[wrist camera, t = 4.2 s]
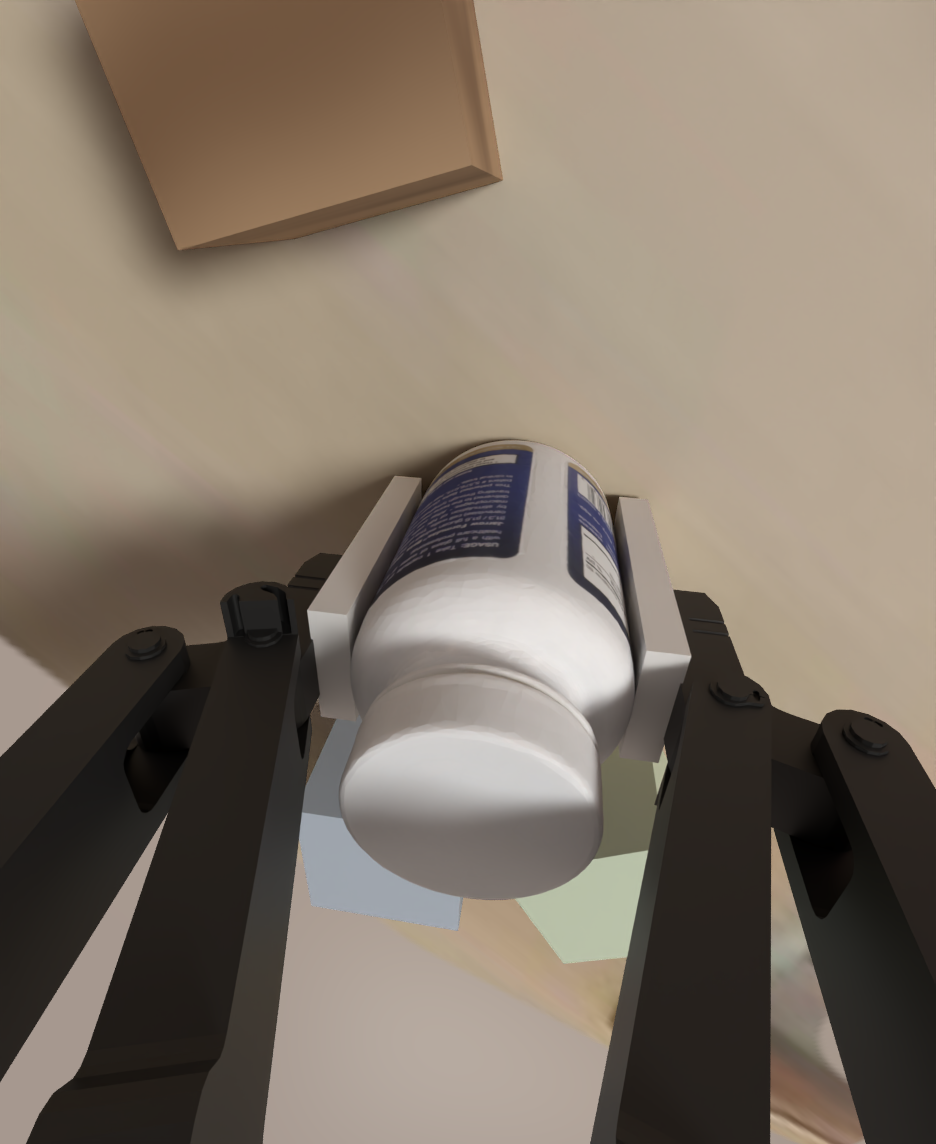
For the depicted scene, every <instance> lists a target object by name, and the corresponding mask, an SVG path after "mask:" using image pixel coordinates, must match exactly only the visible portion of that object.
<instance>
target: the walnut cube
mask: <svg viewBox="0 0 936 1144" xmlns="http://www.w3.org/2000/svg"><path fill="white" fill-rule="evenodd" d="M75 2H76V4H77V7H78V9H79V12H80V14H81V17H82V19H83V21H84V24H85V26H86V29H87V31H88V33H89V36H90V38H91V41H92V43H93V46H94V48H95V50H96V53H97V55H98V58H99V60H100V63H101V65H102V67H103V70H104V72H105V75H106V77H107V80H108V82H109V84H110V87H111V89H112V92H113V94H114V97H115V99H116V101H117V104H118V106H119V109H120V111H121V114H122V116H123V118H124V121H125V123H126V126H127V128H128V131H129V133H130V135H131V138H132V140H133V143H134V145H135V148H136V150H137V152H138V155H139V157H140V160H141V162H142V165H143V167H144V169H145V172H146V174H147V177H148V179H149V182H150V184H151V186H152V189H153V191H154V194H155V196H156V199H157V201H158V203H159V206H160V208H161V211H162V213H163V216H164V218H165V220H166V223H167V225H168V228H169V230H170V233H171V235H172V237H173V240H174V242H175V245H176V247H177V250H188V249H198V248H208V247H218V246H228V245H238V244H248V243H258V242H268V241H278V240H288V239H296V238H299V237H303V236H306V235H310V234H314V233H317V232H321V231H324V230H328V229H331V228H335V227H338V226H342V225H346V224H349V223H353V222H356V221H360V220H363V219H367V218H370V217H374V216H378V215H381V214H385V213H388V212H392V211H395V210H399V209H403V208H406V207H410V206H413V205H417V204H420V203H424V202H427V201H431V200H435V199H438V198H442V197H445V196H449V195H452V194H456V193H460V192H463V191H467V190H470V189H474V188H477V187H481V186H484V185H488V184H492V183H495V182H499V181H502V180H503V177H502V171H501V165H500V159H499V153H498V147H497V141H496V135H495V129H494V123H493V117H492V111H491V105H490V99H489V93H488V87H487V81H486V75H485V69H484V63H483V57H482V51H481V45H480V38H479V32H478V26H477V20H476V14H475V8H474V2H473V0H75Z"/></svg>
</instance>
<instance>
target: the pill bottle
mask: <svg viewBox="0 0 936 1144" xmlns="http://www.w3.org/2000/svg"><path fill="white" fill-rule="evenodd" d="M351 687H352V693H353V698H354V702H355V705H356V708H357V710H358V713H359V715H360V717H361V720H362V722H361V725H360V727H359V729H358V732H357V735H356V739H355V743H354V745H353V748H352V750H351V753H350V756H349V758H348V761H347V764H346V766H345V769H344V772H343V774H342V777H341V782H340V786H339V806H340V811H341V815H342V818H343V821H344V823H345V825H346V828H347V830H348V831H349V833H350V834H351V836H352V837H353V839H354V840H355V841H356V843H357V844H358V845H359V846H360V847H361V848H362V849H363V850H364V851H365V852H366V853H367V854H368V855H369V856H370V857H371V858H372V859H373V860H374V861H376V862H377V863H378V864H380V865H381V866H382V867H383V868H385V869H387V870H389V871H390V872H392V873H394V874H395V875H397V876H399V877H401V878H403V879H405V880H407V881H409V882H411V883H413V884H416V885H418V886H421V887H424V888H426V889H429V890H432V891H435V892H439V893H444V894H448V895H452V896H456V897H463V898H470V899H482V900H507V899H515V898H523V897H528V896H533V895H538V894H541V893H544V892H547V891H550V890H552V889H555V888H558V887H560V886H562V885H564V884H566V883H567V882H569V881H570V880H572V879H573V878H575V877H577V876H578V875H579V874H580V873H581V872H582V871H583V870H585V869H586V867H587V866H588V865H589V864H590V863H591V862H592V860H593V858H594V857H595V855H596V853H597V851H598V849H599V846H600V843H601V840H602V836H603V821H604V818H603V797H602V779H601V764H603V762H604V761H605V760H606V759H607V758H608V757H609V756H610V755H611V754H612V753H613V751H614V750H615V748H616V747H617V746H618V744H619V742H620V741H621V739H622V738H623V736H624V734H625V732H626V729H627V727H628V724H629V721H630V718H631V715H632V710H633V705H634V698H635V677H634V668H633V655H632V649H631V642H630V636H629V628H628V623H627V616H626V609H625V601H624V594H623V588H622V581H621V574H620V568H619V561H618V554H617V548H616V541H615V535H614V528H613V523H612V518H611V513H610V510H609V507H608V504H607V501H606V498H605V496H604V494H603V492H602V490H601V488H600V486H599V485H598V483H597V482H596V480H595V479H594V478H593V476H592V475H591V474H590V473H589V472H588V471H587V470H586V469H585V468H584V467H583V466H582V465H581V464H580V463H578V462H577V461H576V460H574V459H573V458H571V457H570V456H568V455H567V454H565V453H563V452H561V451H559V450H557V449H555V448H553V447H550V446H547V445H544V444H540V443H536V442H531V441H520V440H504V441H497V442H491V443H487V444H482V445H480V446H477V447H474V448H472V449H470V450H468V451H466V452H464V453H462V454H461V455H459V456H457V457H456V458H455V459H453V460H452V461H451V462H450V463H448V464H447V465H446V466H445V467H444V468H443V469H442V470H441V471H440V472H439V474H438V475H437V476H436V477H435V479H434V480H433V482H432V483H431V485H430V486H429V488H428V489H427V491H426V493H425V495H424V497H423V499H422V501H421V503H420V505H419V507H418V509H417V511H416V513H415V515H414V517H413V519H412V521H411V523H410V525H409V528H408V530H407V532H406V534H405V536H404V538H403V540H402V542H401V544H400V547H399V549H398V551H397V553H396V555H395V557H394V559H393V561H392V563H391V565H390V567H389V569H388V571H387V573H386V575H385V577H384V579H383V581H382V583H381V585H380V587H379V589H378V591H377V593H376V595H375V597H374V599H373V601H372V603H371V605H370V607H369V609H368V612H367V614H366V616H365V618H364V620H363V623H362V626H361V628H360V631H359V633H358V636H357V638H356V641H355V645H354V648H353V653H352V659H351Z"/></svg>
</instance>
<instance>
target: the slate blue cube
mask: <svg viewBox="0 0 936 1144" xmlns="http://www.w3.org/2000/svg"><path fill="white" fill-rule="evenodd" d="M361 722H362V720H361V717H360V715H358V718H357V720H356V721H349V720H342V719H336V721H335V723H334V725H333V727H332V730H331V732H330V734H329V736H328V738H327V741H326V743H325V745H324V747H323V749H322V751H321V754H320V756H319V758H318V760H317V762H316V765H315V767H314V769H313V771H312V773H311V776H310V778H309V780H308V782H307V784H306V787H305V792H304V801H303V809H302V817H301V825H300V834H299V840H300V845H301V851H302V856H303V862H304V867H305V872H306V878H307V883H308V889H309V894H310V900H311V905H312V906H316V907H322V908H328V909H334V910H340V911H345V912H352V913H357V914H363V915H369V916H374V917H380V918H386V919H392V920H398V921H404V922H409V923H415V924H421V925H427V926H433V927H438V928H444V929H450V930H456V931H458V928H459V921H460V915H461V908H462V902H463V897H456V896H452V895H448V894H444V893H439V892H435V891H432V890H429V889H426V888H424V887H421V886H418V885H416V884H413V883H411V882H409V881H407V880H405V879H403V878H401V877H399V876H397V875H395V874H394V873H392V872H390V871H389V870H387V869H385V868H383V867H382V866H381V865H380V864H378V863H377V862H376V861H374V860H373V859H372V858H371V857H370V856H369V855H368V854H367V853H366V852H365V851H364V850H363V849H362V848H361V847H360V846H359V845H358V844H357V843H356V841H355V840H354V839H353V837H352V836H351V834H350V833H349V831H348V830H347V828H346V825H345V823H344V821H343V818H342V815H341V811H340V806H339V786H340V782H341V777H342V774H343V772H344V769H345V766H346V764H347V761H348V758H349V756H350V753H351V750H352V748H353V745H354V743H355V739H356V735H357V732H358V729H359V727H360V725H361Z"/></svg>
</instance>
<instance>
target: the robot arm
mask: <svg viewBox="0 0 936 1144" xmlns="http://www.w3.org/2000/svg"><path fill="white" fill-rule="evenodd" d="M421 501H422V496H421V478H414V477H404V476H394V478H393V479H392V481H391V482H390V484H389V485H388V487H387V488H386V490H385V491H384V493H383V495H382V496H381V498H380V499H379V501H378V502H377V504H376V505H375V507H374V508H373V510H372V511H371V513H370V515H369V516H368V518H367V519H366V521H365V522H364V524H363V525H362V527H361V528H360V530H359V531H358V533H357V535H356V536H355V538H354V539H353V541H352V542H351V544H350V545H349V547H348V548H347V550H346V551H345V553H344V554H343V555H334V554H325V553H320V554H318V555H316V556H315V557H313V558H311V559H310V560H308V561H306V562H305V563H304V564H303V565H302V566H301V568H300V569H299V570H298V572H297V573H296V575H295V577H293V579H292V580H291V581H290V583H289V584H288V587H287V586H285V585H282V584H279V583H276V582H255V583H249V584H246V585H243V586H240V587H237V588H235V589H233V590H232V591H230V592H229V593H227V594H226V595H225V596H224V597H223V599H222V600H221V601H220V605H221V609H222V614H223V618H224V623H225V627H226V632H227V637H228V638H227V641H225V642H219V643H211V644H200V645H189V646H186V644H185V640H184V636H183V634H182V633H181V632H179V631H178V630H177V629H174V628H170V627H166V626H152V627H147V628H142V629H138V630H135V631H133V632H131V633H129V634H126V635H124V636H122V637H121V638H120V639H118V640H117V641H116V642H114V643H113V644H112V645H111V646H110V647H109V648H108V649H107V650H106V651H105V652H104V653H103V654H102V655H101V656H100V657H99V658H98V659H97V660H96V661H95V662H94V663H93V664H92V665H91V666H90V667H89V668H88V669H87V670H86V671H85V672H84V673H83V674H82V675H81V676H80V677H79V678H78V679H77V680H76V681H75V682H74V683H73V684H72V685H71V686H70V687H69V688H68V689H67V690H66V691H65V692H64V693H63V694H62V695H61V696H60V697H59V698H58V699H57V700H56V701H55V702H54V704H52V705H51V706H50V707H49V708H48V709H47V710H46V712H44V713H43V715H42V716H41V717H40V718H39V719H38V720H37V721H36V722H35V723H34V724H33V725H32V726H31V727H30V728H29V729H28V730H27V731H26V732H25V733H24V734H23V735H22V736H21V737H20V738H19V739H18V740H17V741H16V742H15V743H14V744H13V745H12V746H11V747H10V748H9V749H8V750H7V751H6V752H5V753H4V754H3V755H2V756H1V757H0V1081H1V1080H2V1078H3V1077H4V1075H5V1073H6V1072H7V1070H8V1069H9V1067H10V1065H11V1064H12V1062H13V1061H14V1059H15V1057H16V1056H17V1054H18V1053H19V1051H20V1049H21V1048H22V1046H23V1044H24V1043H25V1041H26V1040H27V1038H28V1037H29V1035H30V1033H31V1032H32V1030H33V1028H34V1027H35V1025H36V1024H37V1022H38V1021H39V1019H40V1017H41V1016H42V1014H43V1012H44V1011H45V1009H46V1008H47V1006H48V1004H49V1003H50V1001H51V1000H52V998H53V996H54V995H55V993H56V992H57V990H58V988H59V987H60V985H61V983H62V982H63V980H64V979H65V977H66V976H67V974H68V972H69V971H70V969H71V968H72V966H73V964H74V963H75V961H76V959H77V958H78V956H79V955H80V953H81V951H82V950H83V948H84V947H85V945H86V943H87V942H88V940H89V939H90V937H91V935H92V933H93V932H94V931H95V929H96V927H97V926H98V924H99V923H100V921H101V919H102V918H103V916H104V914H105V913H106V911H107V910H108V908H109V906H110V905H111V903H112V902H113V900H114V898H115V897H116V895H117V894H118V892H119V890H120V889H121V887H122V886H123V884H124V882H125V881H126V879H127V878H128V876H129V874H130V873H131V871H132V869H133V868H134V866H135V865H136V863H137V862H138V860H139V858H140V857H141V855H142V853H143V852H144V850H145V848H146V847H147V845H148V844H149V842H150V841H151V839H152V837H153V836H154V834H155V833H156V831H157V829H158V828H159V826H160V824H161V823H162V821H163V820H164V818H165V816H166V815H167V813H168V815H167V818H166V821H165V824H164V827H163V829H162V832H161V835H160V838H159V841H158V844H157V847H156V850H155V853H154V856H153V859H152V862H151V865H150V868H149V871H148V874H147V877H146V879H145V883H144V885H143V888H142V892H141V894H140V897H139V900H138V903H137V906H136V909H135V912H134V915H133V918H132V921H131V924H130V927H129V930H128V932H127V935H126V939H125V941H124V944H123V947H122V950H121V953H120V956H119V959H118V962H117V965H116V968H115V971H114V974H113V977H112V980H111V982H110V986H109V989H108V991H107V994H106V997H105V1000H104V1003H103V1006H102V1009H101V1012H100V1015H99V1018H98V1021H97V1024H96V1027H95V1030H94V1032H93V1036H92V1039H91V1041H90V1044H89V1047H88V1050H87V1053H86V1055H85V1058H84V1060H83V1062H82V1065H81V1067H80V1069H79V1070H78V1072H77V1073H76V1075H75V1076H74V1078H73V1079H72V1080H70V1081H69V1082H68V1083H66V1084H65V1085H64V1086H62V1087H61V1088H60V1089H58V1090H57V1091H56V1092H54V1093H53V1095H52V1096H51V1097H50V1099H49V1100H48V1102H47V1103H46V1105H45V1106H44V1108H43V1109H42V1111H41V1113H40V1114H39V1116H38V1118H37V1120H36V1122H35V1125H34V1127H33V1129H32V1131H31V1134H30V1136H29V1138H28V1141H27V1143H26V1144H263V1132H264V1122H265V1114H266V1106H267V1098H268V1090H269V1081H270V1073H271V1065H272V1057H273V1048H274V1040H275V1032H276V1023H277V1015H278V1007H279V999H280V991H281V982H282V974H283V966H284V957H285V949H286V941H287V932H288V924H289V916H290V908H291V900H292V891H293V883H294V875H295V867H296V859H297V850H298V842H299V834H300V825H301V817H302V809H303V801H304V792H305V784H306V776H307V768H308V759H309V751H310V743H311V735H312V726H311V719H310V713H311V711H312V709H313V707H314V705H315V703H316V701H317V699H319V707H320V714H321V717H327V718H334V719H342V720H349V721H356V720H357V718H358V715H359V713H358V710H357V708H356V705H355V702H354V698H353V693H352V687H351V659H352V653H353V648H354V645H355V641H356V638H357V636H358V633H359V631H360V628H361V626H362V623H363V620H364V618H365V616H366V614H367V612H368V609H369V607H370V605H371V603H372V601H373V599H374V597H375V595H376V593H377V591H378V589H379V587H380V585H381V583H382V581H383V579H384V577H385V575H386V573H387V571H388V569H389V567H390V565H391V563H392V561H393V559H394V557H395V555H396V553H397V551H398V549H399V547H400V544H401V542H402V540H403V538H404V536H405V534H406V532H407V530H408V528H409V525H410V523H411V521H412V519H413V517H414V515H415V513H416V511H417V509H418V507H419V505H420V503H421ZM613 528H614V535H615V541H616V548H617V554H618V561H619V568H620V574H621V581H622V588H623V594H624V601H625V609H626V616H627V623H628V628H629V636H630V642H631V649H632V655H633V668H634V677H635V698H634V705H633V710H632V715H631V718H630V721H629V724H628V727H627V729H626V732H625V734H624V736H623V738H622V739H621V741H620V742H619V744H618V746H619V757H620V758H625V759H633V760H640V761H647V762H654V763H659V760H660V757H661V753H662V750H663V747H664V744H665V749H666V755H667V760H668V763H667V766H666V769H665V772H664V775H663V778H662V782H661V785H660V788H659V791H658V794H657V797H656V800H655V804H654V805H656V806H657V809H656V814H655V819H654V824H653V829H652V834H651V839H650V844H649V849H648V854H647V859H646V864H645V869H644V874H643V879H642V884H641V889H640V895H639V900H638V905H637V910H636V915H635V920H634V925H633V930H632V935H631V940H630V945H629V950H628V955H627V960H626V965H625V970H624V975H623V980H622V986H621V991H620V996H619V1001H618V1006H617V1011H616V1016H615V1021H614V1026H613V1031H612V1036H611V1041H610V1046H609V1051H608V1056H607V1061H606V1066H605V1071H604V1077H603V1082H602V1087H601V1092H600V1097H599V1103H598V1107H597V1112H596V1117H595V1122H594V1127H593V1132H592V1137H591V1142H590V1144H770V1019H771V827H772V828H774V832H775V836H776V839H777V842H778V846H779V849H780V853H781V856H782V859H783V863H784V866H785V870H786V873H787V876H788V880H789V883H790V887H791V890H792V893H793V897H794V900H795V904H796V907H797V911H798V914H799V917H800V921H801V924H802V928H803V931H804V934H805V938H806V941H807V945H808V948H809V951H810V955H811V958H812V962H813V965H814V969H815V972H816V975H817V979H818V982H819V986H820V989H821V992H822V996H823V999H824V1003H825V1006H826V1009H827V1013H828V1016H829V1020H830V1023H831V1026H832V1030H833V1033H834V1037H835V1040H836V1044H837V1046H838V1050H839V1054H840V1057H841V1061H842V1064H843V1067H844V1071H845V1074H846V1078H847V1081H848V1084H849V1088H850V1091H851V1095H852V1098H853V1102H854V1105H855V1108H856V1112H857V1115H858V1119H859V1122H860V1125H861V1129H862V1132H863V1136H864V1139H865V1142H866V1144H936V789H935V787H934V785H933V784H932V782H931V780H930V779H929V777H928V775H927V774H926V772H925V770H924V769H923V767H922V765H921V764H920V762H919V760H918V759H917V757H916V755H915V753H914V752H913V750H912V748H911V747H910V745H909V744H908V743H907V741H906V740H905V739H904V738H903V737H902V735H901V734H900V733H899V732H897V731H896V730H895V729H893V728H892V727H891V726H889V725H888V724H887V723H885V722H883V721H881V720H879V719H877V718H875V717H873V716H871V715H869V714H865V713H861V712H857V711H854V710H835V711H832V712H829V713H827V714H826V715H825V717H824V718H823V720H822V722H821V724H817V723H814V722H811V721H809V720H806V719H803V718H800V717H797V716H794V715H791V714H788V713H786V712H784V711H781V710H779V709H777V708H775V707H773V706H772V705H771V702H770V699H769V695H768V694H767V693H766V692H765V691H764V689H763V688H762V687H761V686H760V685H759V684H757V683H756V682H754V681H753V680H751V679H750V678H748V677H746V676H744V673H743V670H742V668H741V665H740V662H739V660H738V657H737V654H736V652H735V649H734V646H733V644H732V641H731V639H730V637H728V634H729V633H728V631H727V628H726V625H725V624H724V620H723V617H722V615H721V612H720V609H719V607H718V606H717V605H716V604H715V603H714V602H713V601H712V600H711V599H710V598H709V597H708V596H707V595H706V594H705V593H699V592H690V591H681V590H673V588H672V584H671V580H670V577H669V573H668V570H667V566H666V562H665V559H664V555H663V551H662V548H661V544H660V541H659V537H658V533H657V530H656V526H655V522H654V519H653V515H652V512H651V508H650V504H649V501H648V499H639V498H628V497H619V501H618V506H617V512H616V517H615V522H614V527H613Z"/></svg>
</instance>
